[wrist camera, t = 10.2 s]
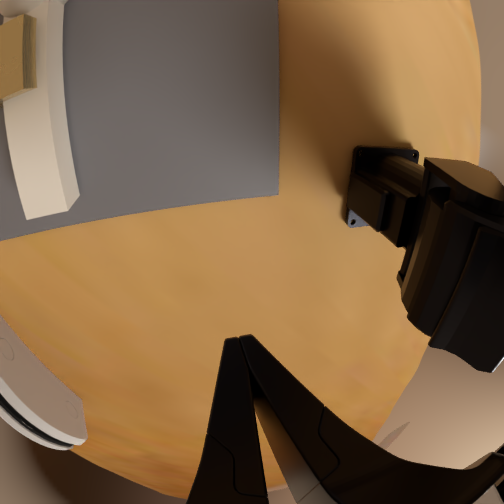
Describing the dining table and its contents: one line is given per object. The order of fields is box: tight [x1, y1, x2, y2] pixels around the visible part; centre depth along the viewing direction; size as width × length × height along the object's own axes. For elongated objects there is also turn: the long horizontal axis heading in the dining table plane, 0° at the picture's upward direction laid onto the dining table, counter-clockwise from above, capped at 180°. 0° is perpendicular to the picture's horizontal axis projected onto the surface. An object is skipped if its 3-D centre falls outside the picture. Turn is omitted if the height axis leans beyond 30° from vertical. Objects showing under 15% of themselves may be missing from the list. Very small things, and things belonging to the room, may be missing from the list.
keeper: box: [0, 14, 37, 110], centre depth 8 cm, size 6×4×5 cm
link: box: [0, 0, 80, 220], centre depth 9 cm, size 16×4×4 cm, turn 0°
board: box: [0, 0, 279, 241], centre depth 12 cm, size 21×21×1 cm
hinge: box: [0, 315, 88, 450], centre depth 19 cm, size 17×5×10 cm, turn 11°
